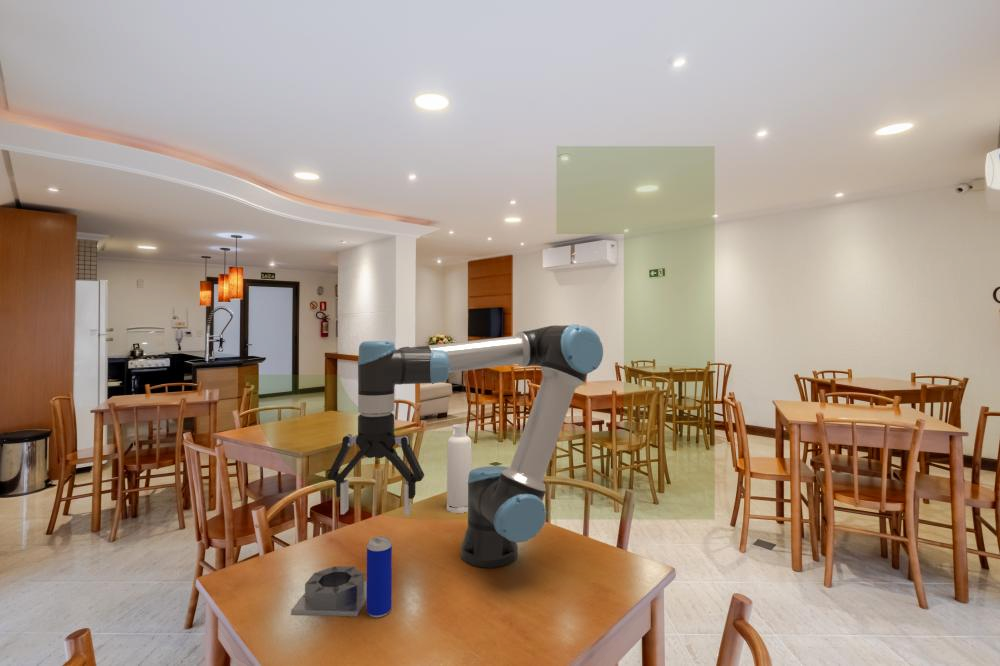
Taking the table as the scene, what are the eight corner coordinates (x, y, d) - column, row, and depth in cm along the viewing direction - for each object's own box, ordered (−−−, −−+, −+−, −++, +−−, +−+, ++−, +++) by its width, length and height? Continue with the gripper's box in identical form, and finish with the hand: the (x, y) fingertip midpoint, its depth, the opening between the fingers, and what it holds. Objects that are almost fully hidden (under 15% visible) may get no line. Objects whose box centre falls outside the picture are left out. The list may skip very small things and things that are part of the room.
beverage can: (396, 611, 102) (396, 540, 102) (375, 621, 98) (375, 548, 98) (382, 601, 105) (383, 533, 105) (361, 611, 101) (362, 541, 101)
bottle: (473, 512, 157) (474, 427, 157) (449, 514, 155) (449, 428, 155) (468, 503, 165) (468, 422, 165) (444, 505, 163) (445, 423, 163)
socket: (374, 585, 112) (374, 566, 112) (357, 616, 100) (357, 594, 100) (315, 584, 112) (315, 565, 112) (291, 614, 100) (291, 593, 100)
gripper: (437, 411, 105) (437, 507, 105) (325, 409, 106) (325, 504, 106) (431, 417, 98) (430, 520, 98) (311, 415, 99) (310, 518, 99)
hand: (375, 512), depth 102 cm, fingers open, 13 cm apart
